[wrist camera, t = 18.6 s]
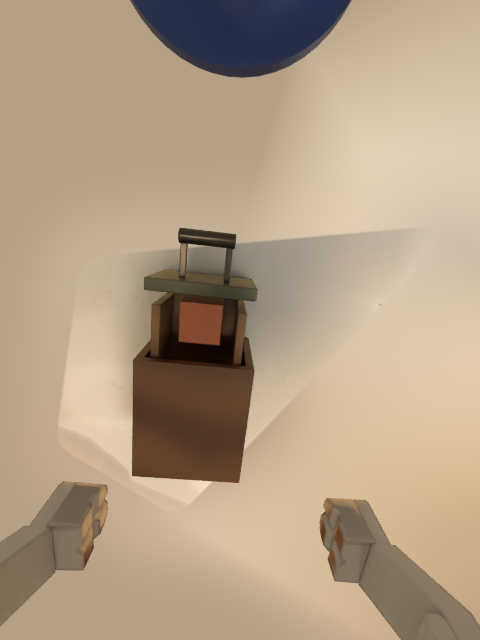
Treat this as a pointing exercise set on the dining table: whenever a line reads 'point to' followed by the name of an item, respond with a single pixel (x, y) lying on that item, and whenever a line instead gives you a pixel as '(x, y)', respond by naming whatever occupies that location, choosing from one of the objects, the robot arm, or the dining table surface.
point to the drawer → (202, 285)
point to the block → (201, 319)
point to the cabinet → (190, 417)
